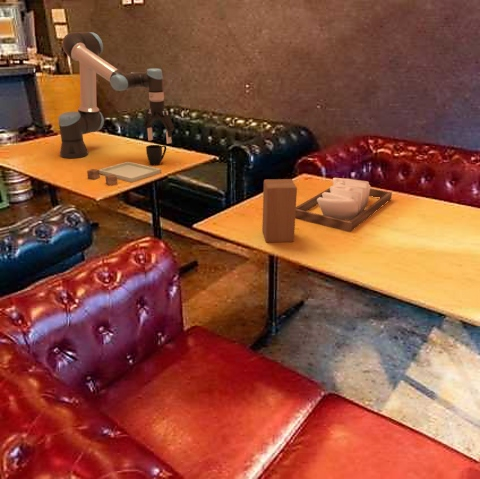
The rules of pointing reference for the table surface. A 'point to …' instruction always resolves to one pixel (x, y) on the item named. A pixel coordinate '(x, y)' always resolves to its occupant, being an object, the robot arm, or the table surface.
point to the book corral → (338, 223)
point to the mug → (155, 154)
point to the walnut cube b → (111, 179)
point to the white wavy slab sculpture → (345, 199)
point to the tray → (130, 171)
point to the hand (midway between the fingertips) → (159, 141)
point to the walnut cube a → (93, 174)
